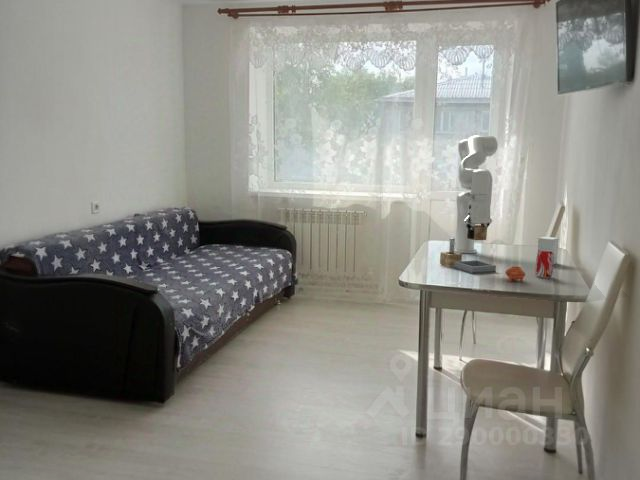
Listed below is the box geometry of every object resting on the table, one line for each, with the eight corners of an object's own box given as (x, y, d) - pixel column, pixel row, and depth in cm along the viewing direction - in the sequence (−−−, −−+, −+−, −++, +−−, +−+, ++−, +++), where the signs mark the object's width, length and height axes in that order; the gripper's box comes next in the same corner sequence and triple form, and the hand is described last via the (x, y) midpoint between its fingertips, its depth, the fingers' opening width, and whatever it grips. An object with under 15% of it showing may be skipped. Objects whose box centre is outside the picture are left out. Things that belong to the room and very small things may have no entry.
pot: (500, 278, 251) (504, 262, 250) (517, 282, 251) (522, 267, 251) (507, 281, 243) (512, 266, 242) (525, 286, 244) (530, 270, 243)
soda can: (544, 279, 252) (546, 251, 250) (531, 275, 258) (533, 248, 256) (555, 277, 255) (558, 250, 253) (542, 274, 261) (545, 247, 259)
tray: (454, 268, 271) (454, 261, 270) (476, 266, 276) (477, 260, 275) (472, 273, 259) (472, 267, 258) (495, 271, 264) (496, 265, 264)
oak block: (439, 264, 279) (440, 252, 278) (451, 263, 282) (452, 251, 281) (448, 267, 272) (449, 254, 271) (461, 266, 275) (461, 254, 274)
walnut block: (475, 240, 261) (476, 227, 260) (466, 238, 267) (467, 225, 266) (486, 239, 264) (487, 226, 263) (477, 237, 269) (478, 224, 268)
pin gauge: (450, 264, 276) (452, 238, 274) (447, 263, 277) (449, 238, 276) (454, 263, 276) (455, 238, 275) (451, 263, 278) (452, 237, 276)
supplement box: (557, 263, 287) (559, 237, 285) (551, 265, 282) (553, 239, 280) (542, 261, 292) (544, 236, 290) (536, 263, 287) (538, 237, 285)
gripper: (469, 199, 255) (466, 240, 258) (500, 198, 262) (497, 238, 265) (458, 197, 262) (455, 237, 265) (488, 197, 269) (486, 236, 272)
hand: (476, 237), depth 265 cm, fingers closed on walnut block, 6 cm apart
